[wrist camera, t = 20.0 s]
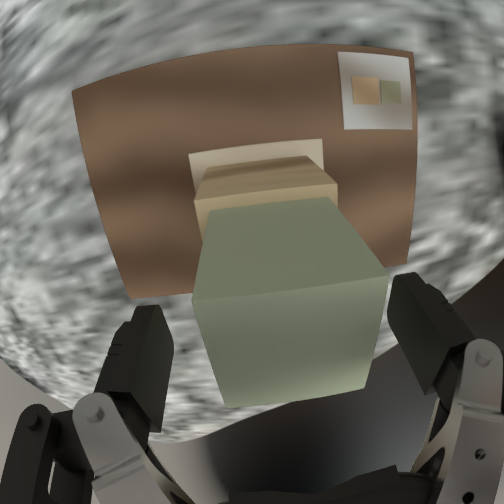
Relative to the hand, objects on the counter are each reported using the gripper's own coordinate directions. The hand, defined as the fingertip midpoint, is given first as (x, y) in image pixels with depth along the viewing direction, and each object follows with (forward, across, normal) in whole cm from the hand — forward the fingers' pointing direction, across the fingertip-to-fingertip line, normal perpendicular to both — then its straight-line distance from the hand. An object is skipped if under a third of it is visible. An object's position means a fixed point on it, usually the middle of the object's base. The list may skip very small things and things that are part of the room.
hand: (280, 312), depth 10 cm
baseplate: (+12, 0, -2) cm, 12 cm away
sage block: (+4, 0, 0) cm, 4 cm away
